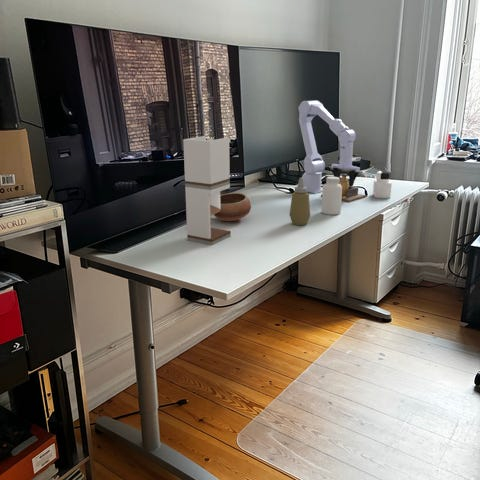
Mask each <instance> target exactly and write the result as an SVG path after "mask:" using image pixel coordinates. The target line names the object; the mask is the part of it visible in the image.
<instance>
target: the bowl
mask: <svg viewBox="0 0 480 480" xmlns="http://www.w3.org/2000/svg"><path fill="white" fill-rule="evenodd" d="M220 208H221V210H220V211H219V212H217V213H215V214H213V215H212V216H214V217H215V218H216V219H218V220H220V221H223V222H225V221H226V222H236V221H239V220H241V219H244V217H246V216H248V214H249V213H250V212H251V209H252V204H251V201H250V199H249V197H248V196H247V195H246V194H245V193H243V192H229V193H224V194H223V193H222V194H220Z"/></svg>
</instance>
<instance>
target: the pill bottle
mask: <svg viewBox="0 0 480 480" xmlns="http://www.w3.org/2000/svg"><path fill="white" fill-rule="evenodd" d="M340 179H341V177H340V178H339V177H334V176H327V177H326V183H324V184H323V186H322V190H323V191H322V192H321V193H322V194H321V195H322V197H321V213H322V214H325V215H329V216H336V215H340V214H341V212H342V211H341V210H342V201H341V198H342V186H341V185H340V184H338V183H339V181H340Z"/></svg>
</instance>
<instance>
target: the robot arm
mask: <svg viewBox="0 0 480 480" xmlns="http://www.w3.org/2000/svg"><path fill="white" fill-rule="evenodd" d="M297 108H298V113H299V114H298V115H299V117H298V123H299V126H300V127H299V128H300V132H301V136H302V140H303V144H304V145H303V146H304V150H305V153H306V156H305V158H304V159H303V162H304V165H303V170H304V171H305V172H304V173H303V174H302V176H301V178H303V183H304V187H307V193H311V194H317V193H318V194H319V193H322V192H323V188H322V174H323V171H324V170H325V168H326V163H325V161H324V160H323V157H322V155H321V154H320V153H318V149H317V148H318V147H317V143H316V139H315V135H314V131H313V126H312V121H313V120H314V119H313V118H315V117H316V116H318V117H320V118H321V119H322V120H323V121H324V122H326V123H327V124H328V125H329V129H330V130H331V131H332V132H333V133H334V134H335V135H336V136H337V137H338V141H339V147H340V148H339V164H338V163H331V167H330V168H331V173H332V174H333V177H339V178H340V179H341V176H342V170H343V171H348V172H347V174H348V179H349V180H348V181H349V186H350V187H354V183H355V181H356V179H357V177H358V176H359V175H358V174H359V173H360V171H361V167H358V166H356V165H355V166H354V165H353V150H354V142H355V140H356V139H357V133H356V131H355V130H354V129H352V128H351V129H350V128H349V126H346V125H345V124H344V122H343V121H342V119H339V118H335V117H333V115H331V113H330V112H329V111H328V109H326V108H325V107H324V104H323V103H322V102H320V101H319V100H316V99H315V100H303V101H301V102H300V104H299V106H298V107H297ZM338 184H339V183H338Z"/></svg>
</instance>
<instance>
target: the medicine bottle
mask: <svg viewBox="0 0 480 480" xmlns="http://www.w3.org/2000/svg"><path fill="white" fill-rule="evenodd" d="M390 177H391V172H390V171H387V170H379V171H377V172H376V178H375V179H374V180H373V184H372V185H373V186H372V187H373V189H372V195H373V196H374V198H377V199H380V198H381V199H390V198H391V196H392V195H391V193H392V182H391V181H390Z"/></svg>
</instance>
